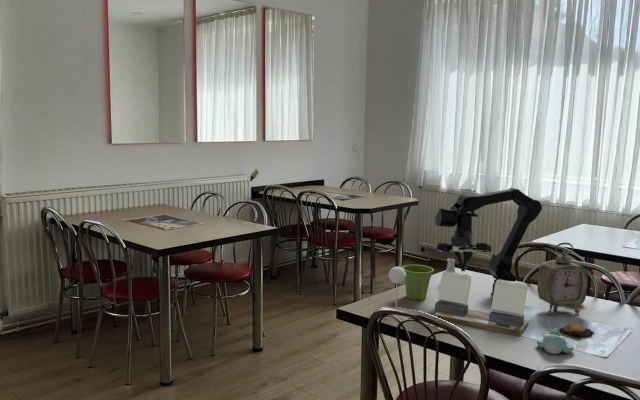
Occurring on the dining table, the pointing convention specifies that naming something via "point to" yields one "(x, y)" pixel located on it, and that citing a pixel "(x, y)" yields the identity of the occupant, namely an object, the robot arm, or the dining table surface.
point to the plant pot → (417, 281)
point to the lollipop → (397, 277)
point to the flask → (450, 265)
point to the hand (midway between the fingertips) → (463, 271)
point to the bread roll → (576, 331)
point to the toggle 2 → (509, 297)
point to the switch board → (480, 318)
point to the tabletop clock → (562, 282)
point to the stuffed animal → (554, 343)
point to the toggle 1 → (454, 287)
